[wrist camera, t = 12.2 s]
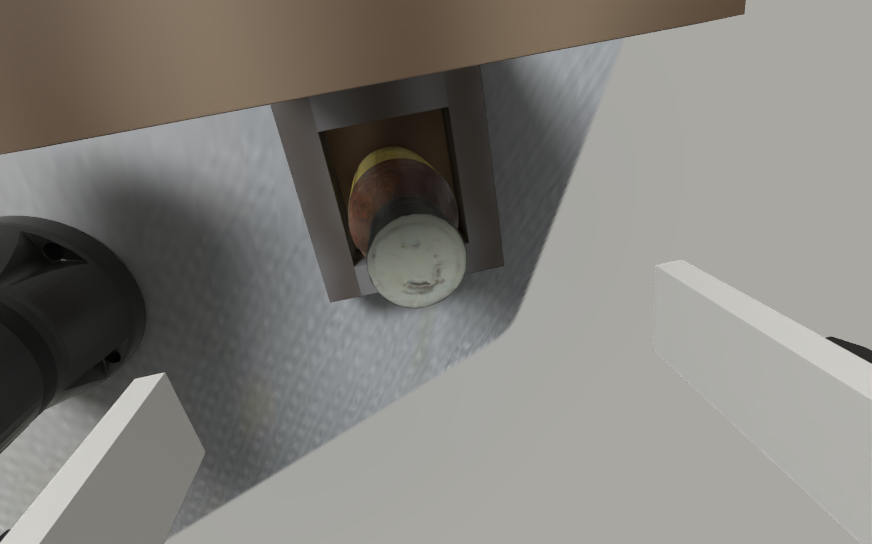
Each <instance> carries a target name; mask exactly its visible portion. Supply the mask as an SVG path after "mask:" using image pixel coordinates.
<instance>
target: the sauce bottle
mask: <svg viewBox="0 0 872 544" xmlns="http://www.w3.org/2000/svg"><path fill="white" fill-rule="evenodd" d="M348 221H349V229H350V233H351V236H352V239H353V242H354V244H355V246H356V247H357V248H359V249H360V250H361V252H362V253H363V255H364V256H365V257H366V263H367V271H368V275H369V277H370V280H371V282H372V284H373V285H374V287H375V288H376V289H377V291H378V292H379V293H380V294H381V295H382V296H383V297H384V298H385V299H386V300H388V301H391V302H392V303H394V304H396V305H399V306H403V307H407V308H422V307H425V306H430V305H433V304H435V303H438V302H440V301H442V300H444V299H445V298H447V297H448V296H450V295H451V294H452V292H453V291H454V290H455V289H456V288H457V287H459V285H460V283H461V281H462V280H463V277H464V274H465V271H466V265H467V249H466V246H465V243H464V241H463V239H462V236H461V235H460V233H459V231H458V229H457V227H458V207H457V203H456V200H455V197H454V195H453V192H452V190H451V188H450V187H449V185H448V184H447V182H446V181H445V180H444V179H443V177H442V176H441V175H440V174H439V173H438V172H437V171H436V170H435V169H434V168H433V167H432V166H431V165H430V164H429V163H427V162H426V161H425V160H424V159H423V158H422V157H420V156H419V155H418V154H417V153H415V152H413V151H412V150H410V149H407V148H404V147H401V146H389V147H384V148H380V149H377V150H376V151H374V152H372V153H371V154H369V155H368V156H367V157H366V158H365V159H364V160H363V161H362V162H361V164H360V165H359V168H358V170H357V171H356V173H355V176H354V180H353V184H352V189H351V193H350V199H349V205H348Z"/></svg>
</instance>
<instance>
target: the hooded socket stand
mask: <svg viewBox="0 0 872 544" xmlns="http://www.w3.org/2000/svg"><path fill="white" fill-rule="evenodd" d="M745 1H746V0H0V154H6V153H12V152H18V151H23V150H29V149H35V148H41V147H46V146H51V145H57V144H62V143H67V142H72V141H78V140H83V139H88V138H94V137H99V136H104V135H110V134H115V133H120V132H126V131H131V130H136V129H141V128H147V127H152V126H157V125H163V124H168V123H173V122H179V121H184V120H189V119H195V118H200V117H205V116H210V115H216V114H221V113H226V112H232V111H237V110H242V109H248V108H253V107H258V106H264V105H269V104H270V105H271V108H272V111H273V115H274V118H275V121H276V125H277V128H278V131H279V135H280V138H281V141H282V144H283V148H284V151H285V154H286V158H287V161H288V164H289V168H290V171H291V174H292V178H293V181H294V184H295V188H296V191H297V194H298V197H299V201H300V204H301V207H302V211H303V214H304V217H305V221H306V224H307V227H308V231H309V234H310V237H311V241H312V244H313V247H314V250H315V254H316V257H317V260H318V264H319V267H320V270H321V274H322V277H323V280H324V284H325V287H326V290H327V294H328V297H329V300H330V303H331V302H336V301H340V300H345V299H350V298H354V297H359V296H364V295H369V294H373V293H378V291H377V289H376V288H375V287H374V285H373V284H372V282H371V280H370V277H369V275H368V271H367V263H366V257H365V256H364V255H363V253H362V252H361V250H360V249H359V248H357V247H356V246H355V244H354V242H353V239H352V236H351V233H350V229H349V221H348V205H349V199H350V193H351V189H352V184H353V180H354V176H355V173H356V171H357V170H358V168H359V165H360V164H361V162H362V161H363V160H364V159H365V158H366V157H367V156H368V155H369V154H371V153H372V152H374V151H376V150H377V149H380V148H384V147H389V146H401V147H404V148H407V149H410V150H412V151H413V152H415V153H417V154H418V155H419V156H420V157H422V158H423V159H424V160H425V161H426V162H427V163H429V164H430V165H431V166H432V167H433V168H434V169H435V170H436V171H437V172H438V173H439V174H440V175H441V176H442V177H443V179H444V180H445V181H446V182H447V184H448V185H449V187H450V188H451V190H452V192H453V195H454V197H455V200H456V203H457V207H458V227H457V229H458V231H459V233H460V235H461V236H462V239H463V241H464V243H465V246H466V249H467V265H466V271H465V274H468V273H473V272H478V271H482V270H487V269H492V268H497V267H501V266H504V259H503V251H502V243H501V235H500V226H499V218H498V210H497V202H496V194H495V185H494V177H493V169H492V161H491V152H490V144H489V136H488V128H487V119H486V111H485V103H484V95H483V86H482V78H481V70H480V65H481V64H486V63H492V62H497V61H502V60H508V59H513V58H518V57H524V56H529V55H534V54H539V53H545V52H550V51H555V50H561V49H566V48H571V47H577V46H582V45H587V44H593V43H598V42H603V41H608V40H614V39H619V38H624V37H629V36H635V35H640V34H646V33H651V32H656V31H661V30H667V29H672V28H677V27H682V26H688V25H693V24H698V23H703V22H708V21H713V20H718V19H723V18H727V17H732V16H737V15H742V14H744V12H745Z"/></svg>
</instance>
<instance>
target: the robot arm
mask: <svg viewBox="0 0 872 544" xmlns="http://www.w3.org/2000/svg"><path fill="white" fill-rule="evenodd" d="M654 290H655V291H654V325H653V351H654V352H655V353H656V354H657V355H658V356H660V357H661V358H662V359H663V360H664V361H665V362H666V363H667V364H668V365H669V366H670V367H671V368H672V369H674V370H675V371H676V372H677V373H678V374H679V375H680V376H681V377H682V378H683V379H684V380H685V381H687V382H688V383H689V384H690V385H691V386H692V387H693V388H694V389H695V390H696V391H697V392H698V393H700V395H701V396H703V397H704V398H705V399H706V400H707V401H708V402H709V403H710V404H711V405H712V406H713V407H714V408H715V409H717V410H718V411H719V412H720V413H721V414H722V415H723V416H724V417H725V418H726V419H728V421H729V422H731V423H732V424H733V425H734V426H735V427H736V428H737V429H738V430H739V431H740V432H741V433H742V434H743V435H744V436H745V437H747V438H748V439H749V440H750V441H751V442H752V443H753V444H754V445H755V446H756V447H757V448H758V449H759V450H761V451H762V452H763V453H764V454H765V455H766V456H767V457H768V458H769V459H770V460H771V461H772V462H773V463H774V464H776V465H777V466H778V467H779V468H780V469H781V470H782V471H783V472H784V473H785V474H786V475H788V476H789V477H790V478H791V479H792V480H793V481H794V482H795V483H796V484H797V485H798V486H799V487H800V488H801V489H802V490H804V491H805V492H806V493H807V494H808V495H809V496H810V497H811V498H812V499H813V500H814V501H815V502H816V503H817V504H819V505H820V506H821V507H822V508H823V509H824V510H825V511H826V512H827V513H828V514H829V515H830V516H832V517H833V518H834V519H835V520H836V521H837V522H838V523H839V524H840V525H841V526H842V527H843V528H844V529H845V530H846V531H848V532H849V533H850V534H851V535H852V536H853V537H854V538H855V539H856V540H857V541H858V542H859V543H861V544H872V351H871V350H869V349H867V348H865V347H862V346H859V345H856V344H853V343H850V342H847V341H844V340H841V339H837V338H834V337H827V338H824V337H822V336H820V335H818V334H817V333H815V332H813V331H811V330H809V329H807V328H805V327H804V326H802V325H800V324H798V323H797V322H795V321H793V320H791V319H789V318H787V317H786V316H784V315H782V314H780V313H778V312H777V311H775V310H773V309H771V308H769V307H767V306H766V305H764V304H762V303H760V302H758V301H757V300H755V299H753V298H751V297H749V296H747V295H746V294H744V293H742V292H740V291H738V290H737V289H735V288H733V287H731V286H729V285H727V284H726V283H724V282H722V281H720V280H718V279H716V278H714V277H713V276H711V275H709V274H707V273H705V272H704V271H702V270H700V269H698V268H696V267H695V266H693V265H691V264H689V263H687V262H686V261H684V260H677V261H672V262H668V263H664V264H659V265H655V287H654ZM144 328H145V307H144V302H143V298H142V295H141V293H140V290H139V288H138V286H137V284H136V282H135V280H134V278H133V277H132V275H131V274H130V272H129V271H128V270H127V268H126V267H125V266H124V265H123V263H122V262H121V261H120V260H119V259H118V258H117V257H116V256H115V255H114V254H113V253H112V252H111V251H109V250H108V249H107V248H106V247H104V246H103V245H102V244H100V243H99V242H98V241H96V240H94V239H93V238H91V237H90V236H88V235H86V234H84V233H82V232H80V231H78V230H76V229H74V228H72V227H69V226H67V225H64V224H61V223H58V222H55V221H51V220H47V219H42V218H37V217H29V216H4V217H0V453H1V452H2V451H3V450H5V449H6V448H7V447H8V446H9V445H10V444H11V443H12V442H13V441H14V440H15V439H16V438H17V437H18V436H19V435H20V434H21V433H22V432H23V431H24V430H25V429H26V428H27V427H28V426H29V424H30V423H31V422H32V421H33V420H34V419H35V418H36V417H37V416H39V415H40V414H41V413H42V412H43V411H44V410H45V409H47V408H50V407H52V406H54V405H56V404H58V403H60V402H62V401H64V400H66V399H68V398H71V397H73V396H75V395H77V394H79V393H81V392H83V391H85V390H87V389H89V388H91V387H94V386H96V385H98V384H99V383H101V382H103V381H104V380H106V379H107V378H109V377H110V376H111V375H112V374H114V373H115V372H116V371H117V370H118V369H119V368H120V367H121V366H122V365H123V364H124V363H125V362H126V361H127V359H128V358H129V357H130V356H131V355H132V354H133V353H134V351H135V350H136V348H137V347H138V345H139V343H140V341H141V339H142V336H143V333H144ZM205 453H206V452H205V450H204V448H203V446H202V444H201V442H200V440H199V438H198V436H197V434H196V432H195V430H194V428H193V426H192V424H191V422H190V420H189V418H188V416H187V414H186V412H185V410H184V408H183V406H182V404H181V403H180V401H179V399H178V397H177V395H176V393H175V391H174V389H173V387H172V385H171V383H170V381H169V379H168V377H167V375H166V373H165V372H164V373H159V374H155V375H150V376H146V377H141V378H136V379H134V380H133V382H132V383H131V384H130V385H129V386H128V388H127V389H126V390H125V391H124V392H123V394H122V395H121V396H120V397H119V399H118V400H117V401H116V402H115V403H114V405H113V406H112V407H111V408H110V409H109V411H108V412H107V413H106V414H105V416H104V417H103V418H102V419H101V420H100V422H99V423H98V424H97V425H96V427H95V428H94V429H93V430H92V431H91V433H90V434H89V435H88V436H87V437H86V439H85V440H84V441H83V442H82V444H81V445H80V446H79V447H78V448H77V450H76V451H75V452H74V453H73V455H72V456H71V457H70V458H69V459H68V461H67V462H66V463H65V464H64V465H63V467H62V468H61V469H60V470H59V472H58V473H57V474H56V475H55V476H54V478H53V479H52V480H51V481H50V482H49V484H48V485H47V486H46V487H45V489H44V490H43V491H42V492H41V493H40V495H39V496H38V497H37V498H36V500H35V501H34V502H33V503H32V504H31V506H30V507H29V508H28V509H27V510H26V512H25V513H24V514H23V515H22V517H21V518H20V519H19V520H18V521H17V523H16V524H15V525H14V526H13V528H12V529H9V530H7V531H6V532H4V533H3V534H2V535H1V536H0V544H164V543H165V540H166V538H167V536H168V534H169V532H170V530H171V527H172V525H173V523H174V521H175V519H176V516H177V514H178V512H179V510H180V508H181V506H182V503H183V501H184V499H185V497H186V495H187V493H188V490H189V488H190V486H191V484H192V482H193V479H194V477H195V475H196V473H197V471H198V469H199V466H200V464H201V462H202V460H203V458H204V455H205Z"/></svg>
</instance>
